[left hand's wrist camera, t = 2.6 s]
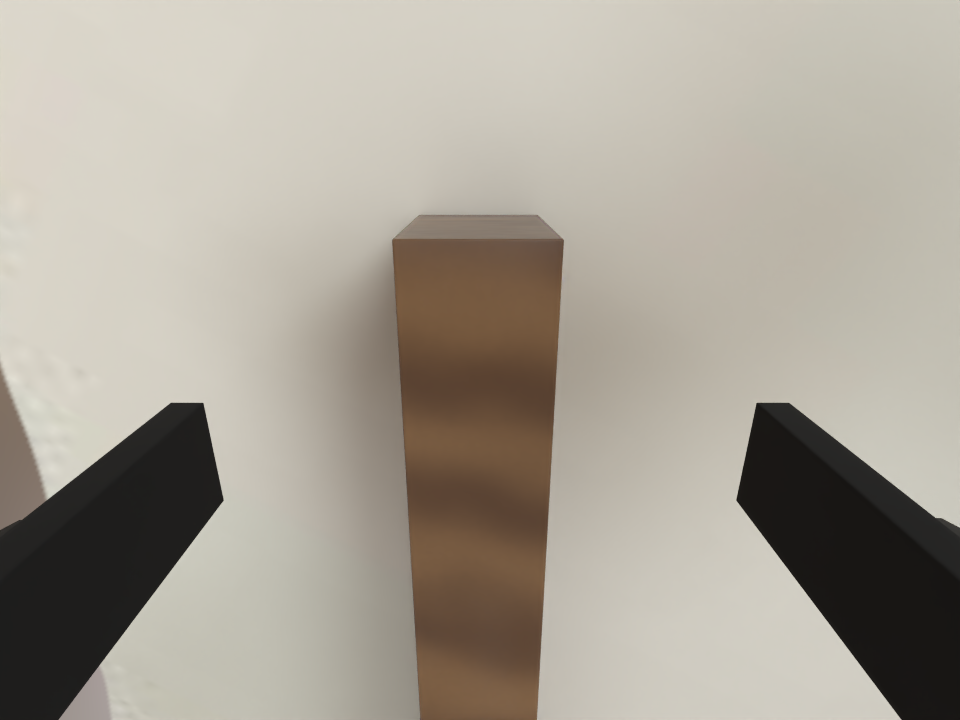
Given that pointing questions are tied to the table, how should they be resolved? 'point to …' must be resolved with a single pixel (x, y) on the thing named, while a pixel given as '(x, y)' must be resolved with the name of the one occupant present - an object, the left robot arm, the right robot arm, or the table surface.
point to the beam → (478, 452)
